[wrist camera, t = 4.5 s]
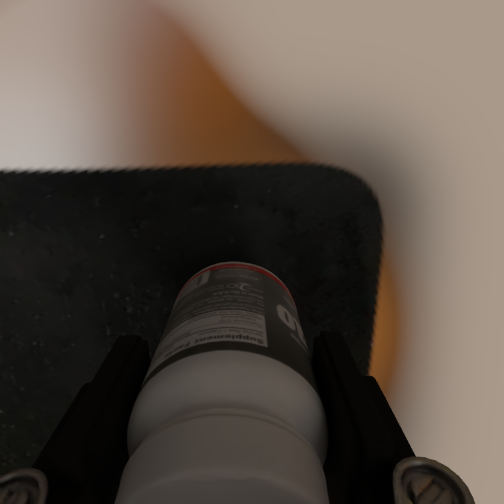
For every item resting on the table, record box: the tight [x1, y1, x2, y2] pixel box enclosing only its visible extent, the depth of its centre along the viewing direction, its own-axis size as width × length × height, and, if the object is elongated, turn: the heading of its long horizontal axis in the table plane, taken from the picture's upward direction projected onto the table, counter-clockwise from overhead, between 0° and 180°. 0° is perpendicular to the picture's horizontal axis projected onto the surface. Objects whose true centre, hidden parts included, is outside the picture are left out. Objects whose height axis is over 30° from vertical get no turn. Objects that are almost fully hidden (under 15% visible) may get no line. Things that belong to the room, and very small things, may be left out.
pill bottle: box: [114, 262, 330, 504], centre depth 10 cm, size 5×5×8 cm
